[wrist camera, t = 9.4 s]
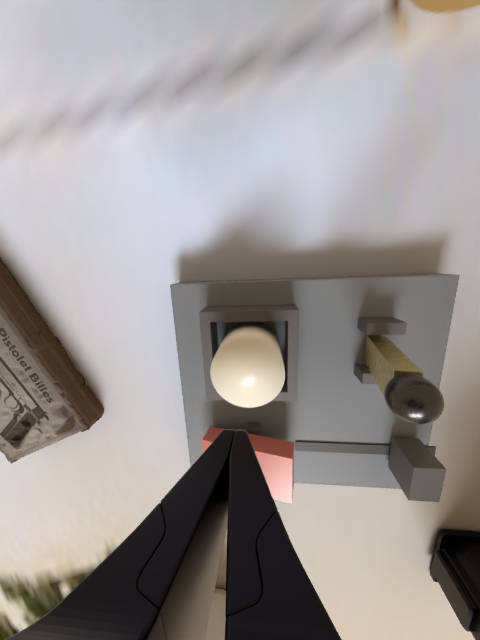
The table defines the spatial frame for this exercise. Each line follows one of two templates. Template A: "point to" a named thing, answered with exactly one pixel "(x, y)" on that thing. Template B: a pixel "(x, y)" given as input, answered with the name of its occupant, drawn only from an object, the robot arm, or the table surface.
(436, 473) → the slider
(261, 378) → the button
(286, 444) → the rocker
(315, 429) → the panel
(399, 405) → the lever
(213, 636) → the can
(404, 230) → the table surface
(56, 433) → the grey flat block
